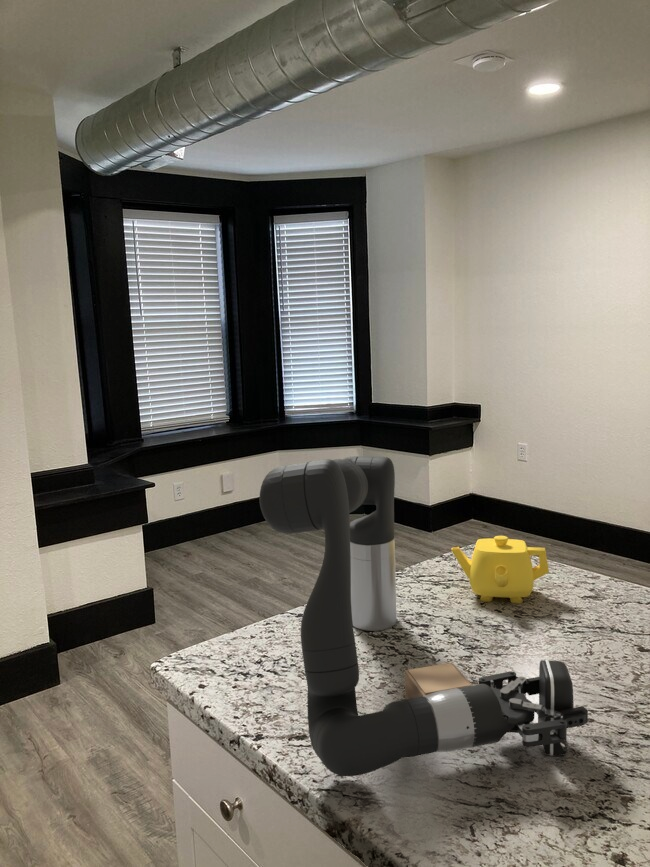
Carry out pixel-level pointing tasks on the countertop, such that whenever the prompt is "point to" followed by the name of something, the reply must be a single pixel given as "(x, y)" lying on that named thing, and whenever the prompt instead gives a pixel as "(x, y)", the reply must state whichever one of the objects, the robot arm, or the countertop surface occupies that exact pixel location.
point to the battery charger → (555, 696)
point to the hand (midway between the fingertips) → (568, 698)
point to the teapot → (502, 568)
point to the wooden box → (433, 680)
